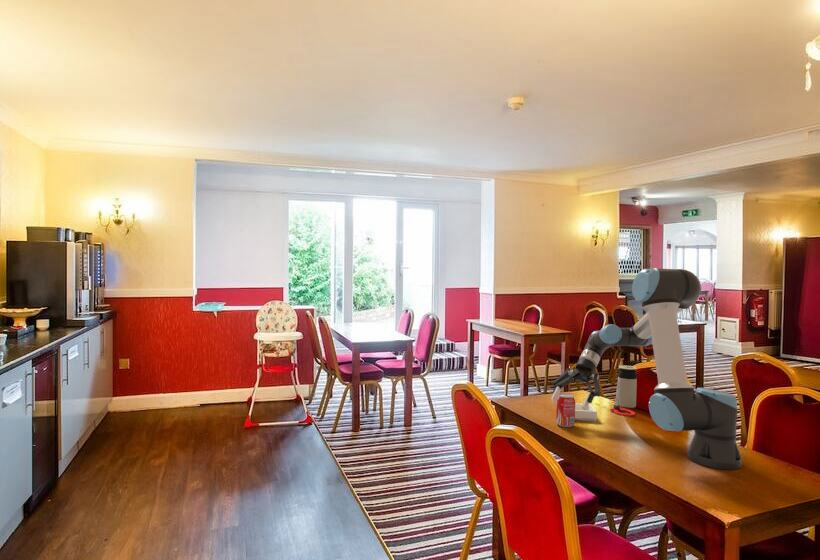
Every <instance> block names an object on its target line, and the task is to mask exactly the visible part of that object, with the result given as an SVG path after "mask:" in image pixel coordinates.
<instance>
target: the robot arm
mask: <svg viewBox="0 0 820 560" xmlns="http://www.w3.org/2000/svg"><path fill="white" fill-rule="evenodd" d="M631 286H632V287H631V288H632V289H631V292H632V297H633V298H634V301H636V302H639V303H641V308H642V311H644V312H646V313H645V314H644V315H643V316H642V317H641V318H640V319H639V320H638V321H637V322H636V323H635V324H634V325H632V327H619V326H618V325H616V324H612V323H610V324H606V325H605V326H603V327H602V328H601V329H600V330H594V331H593V332H591V334H590V335H589V337H588V339H587V342H586V344H585V346H584V349H582V350H583V351H582V352H581V353H580V354H581V355H580V356H579V359H578V361H577V363H576V364H575V368H574V369H570V368H569V367H567V368H566V369H565V371H564V372H562V374H561V375H559V376H558V377H557V378H555V380H554V381H553V380H552V382H551V384H552V385H553V387H554V389H553V391H552V396H551V397H550V400H551V402H552V403H553V404H556V403H557V398H558V397H559V394H561V392H562V390H561V389H562V388H563V389H564V387H566V386H568V385H570V384H571V383H575V382H577V383H586V387H587V388H588V391H589V392H587V394H586V397H585V398H584V400H583V403H582V404H583V405H582V408H583V409H584V410H585V411H586V409H587V407H588V405H589V404H591V403H592V402H593V400H594V398H595V397H599V398H600V397H601V391H600V390H601V389H600V385H599V381H600V376H599V374H598V372H595V371H596V369H597V367H598V365H599V363H600V361H601V357H602V355H603V354H604V352H605V351H606V350H608V349H609V348H611V347H639V348H641V347H647V346H650V345H652V348H653V349H652V350H653V356H654V363H655V370H656V375H657V376H656V377H657V385H656V386H655V387H654V389H653V391H654V394H652V395H651V396H650V398H649V401H648V409H649V414H650V416H651V419H652V421H653V422H654V423H655V424H656V425H657V426H658V427H659V428H660V429H661V430H663V431H670V432H688V431H691V432H693V431H694V434H693V437H692V439H691V441H690V444H689V446H688V449H687V457H688V459H690V460H691V461H692V462H694V463H696V464H699V465H701V466H705V467H708V468H709V467H710V468H714V469H718V470H719V469H720V470H737V469H738V470H739V469H740V468H741V467H742V465H743V464H742V456H741V453H740V451H739V447H738V444H737V424H738V423H737V422H738V421H737V420H738V410H739V409H738V400H737V397H736V396H735V395H733V394H731V393H729V392H725V391H720V390H717V389H712V388H706V387H697V388H696V390H695V387H694V386H693V385H692V384H690V383H689V382H688V377H687V372H686V365H685V359H684V354H683V353H684V352H683V347H682V339H681V336H680V330H679V324H678V323H679V322H678V318H677V315H678V314H679V313H680V312H681V311H683V310H687V309H690V308H691V306H693V305H694V304H695V303H696V302H697V301H698V299H699V298H700V296H701V292H702V285H701V281H700V279H699V278H698V277H697V275H695V273H694V272H691V271H689V270H687V269H684V268H683V269H682V268H657V267H654V268H644V269H641V270H640V271H638V273H636V275H635V277H634V279H633V281H632V285H631ZM591 379H592V380H593V386H594V387H592V384H591V383H590V380H591ZM593 388H594V390H593Z"/></svg>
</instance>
